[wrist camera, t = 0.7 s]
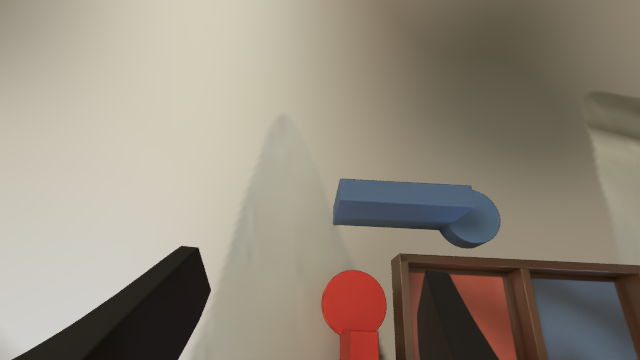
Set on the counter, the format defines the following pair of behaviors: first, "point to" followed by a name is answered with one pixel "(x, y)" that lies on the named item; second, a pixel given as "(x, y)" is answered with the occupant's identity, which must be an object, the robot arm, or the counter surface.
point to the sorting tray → (530, 306)
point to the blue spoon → (418, 209)
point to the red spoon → (355, 313)
